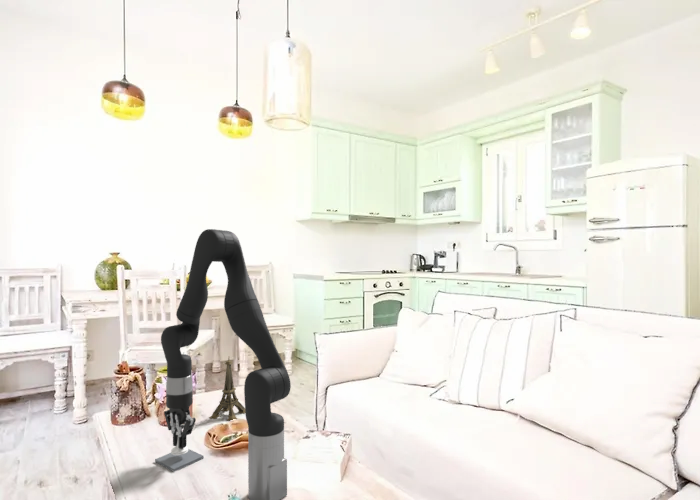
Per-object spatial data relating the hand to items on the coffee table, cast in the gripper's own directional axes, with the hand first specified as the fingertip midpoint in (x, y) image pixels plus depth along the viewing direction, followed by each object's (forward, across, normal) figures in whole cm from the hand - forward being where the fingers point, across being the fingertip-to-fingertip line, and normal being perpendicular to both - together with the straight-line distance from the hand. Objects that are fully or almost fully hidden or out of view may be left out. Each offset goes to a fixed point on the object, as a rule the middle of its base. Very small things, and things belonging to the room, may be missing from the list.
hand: (179, 446), depth 134 cm
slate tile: (+4, 0, 0) cm, 4 cm away
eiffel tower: (+5, +18, -32) cm, 37 cm away
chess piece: (+2, 0, 0) cm, 2 cm away
